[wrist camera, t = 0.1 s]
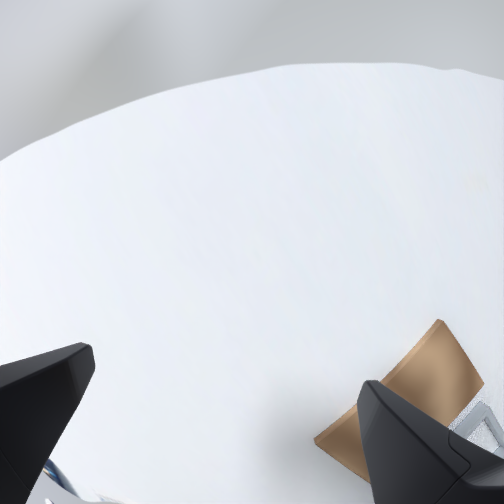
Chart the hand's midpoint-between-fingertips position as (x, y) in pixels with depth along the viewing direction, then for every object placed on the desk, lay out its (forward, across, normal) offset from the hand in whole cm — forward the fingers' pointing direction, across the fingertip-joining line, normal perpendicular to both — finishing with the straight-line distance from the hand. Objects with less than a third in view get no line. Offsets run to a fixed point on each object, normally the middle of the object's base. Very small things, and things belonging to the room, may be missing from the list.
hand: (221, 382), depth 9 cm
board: (+13, -17, +13) cm, 25 cm away
